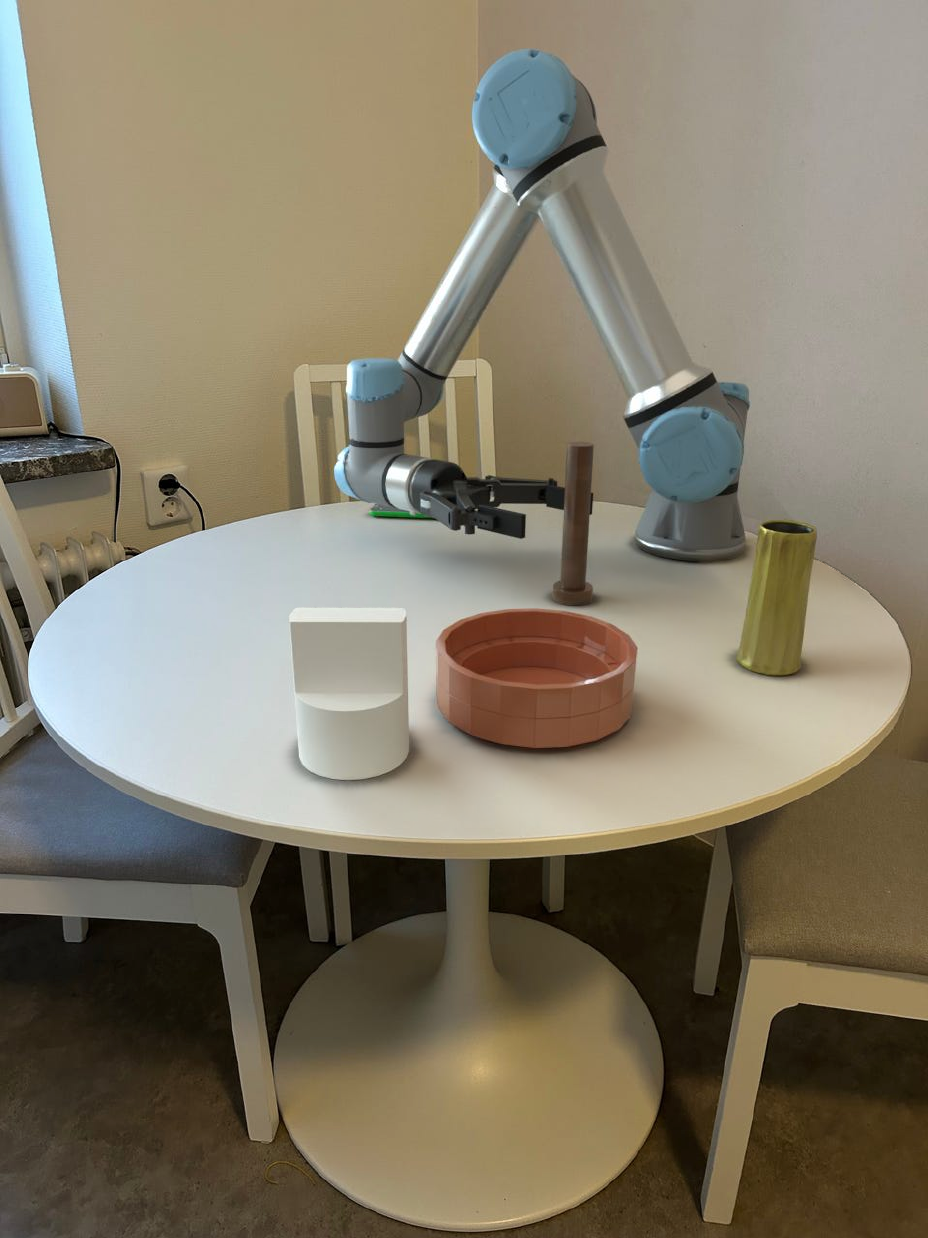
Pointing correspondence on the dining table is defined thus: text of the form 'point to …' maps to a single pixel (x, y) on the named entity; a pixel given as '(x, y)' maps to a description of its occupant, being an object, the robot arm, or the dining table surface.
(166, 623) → the dining table surface
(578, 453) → the brown peg
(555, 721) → the bowl
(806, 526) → the vase
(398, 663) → the base with upright slab
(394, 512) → the smartphone
